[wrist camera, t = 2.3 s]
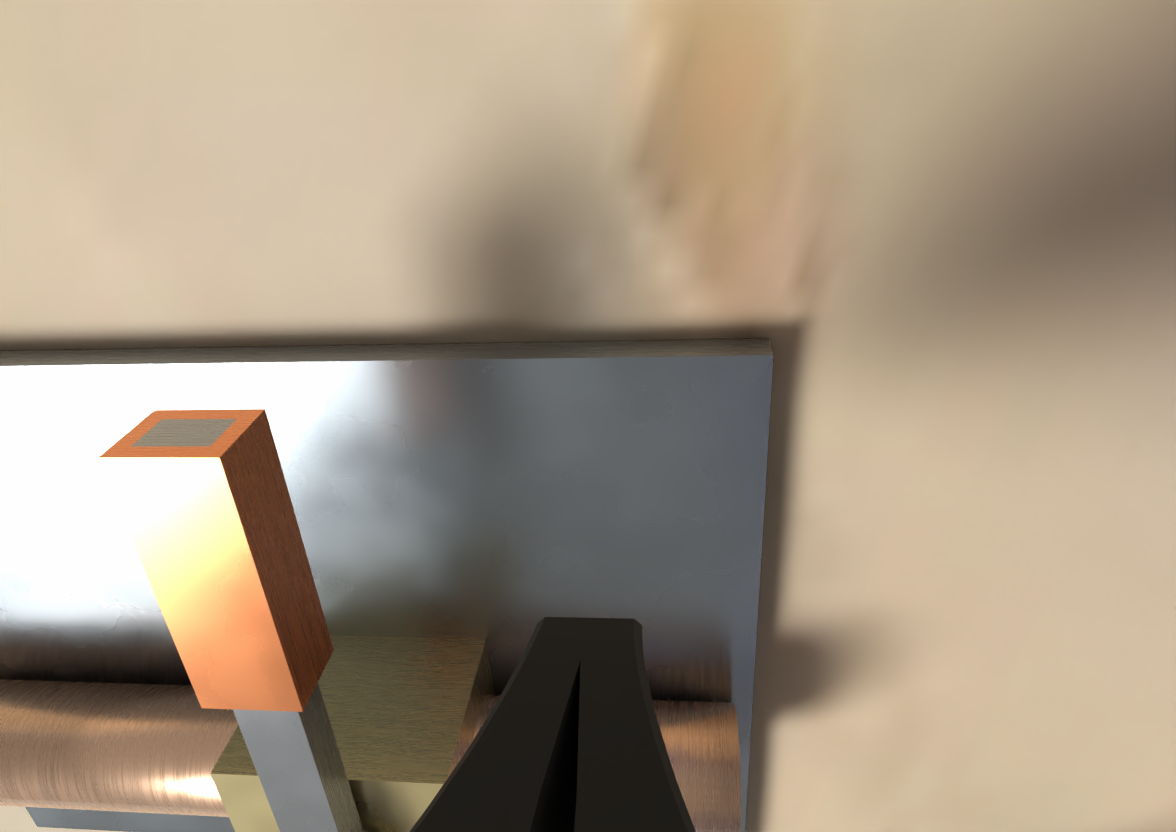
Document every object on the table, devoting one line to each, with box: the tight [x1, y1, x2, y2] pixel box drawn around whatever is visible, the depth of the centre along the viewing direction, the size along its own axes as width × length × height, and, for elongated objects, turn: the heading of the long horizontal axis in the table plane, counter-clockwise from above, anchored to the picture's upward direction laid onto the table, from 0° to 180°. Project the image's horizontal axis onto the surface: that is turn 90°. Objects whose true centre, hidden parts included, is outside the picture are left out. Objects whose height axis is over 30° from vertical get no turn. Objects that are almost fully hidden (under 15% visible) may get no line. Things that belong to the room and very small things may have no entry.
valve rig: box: [0, 339, 774, 832], centre depth 19 cm, size 22×16×5 cm
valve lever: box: [98, 409, 370, 832], centre depth 15 cm, size 12×2×1 cm, turn 3°
